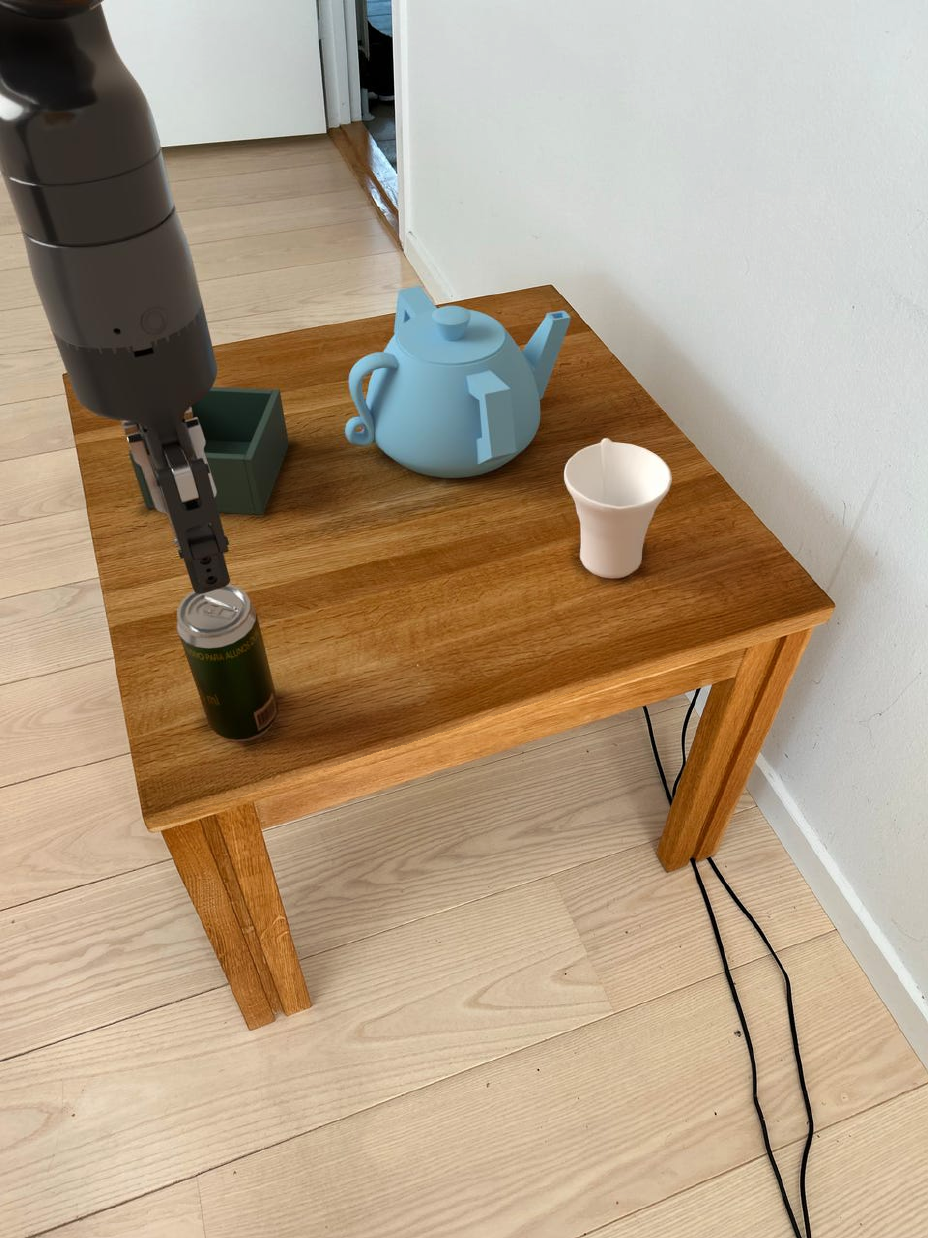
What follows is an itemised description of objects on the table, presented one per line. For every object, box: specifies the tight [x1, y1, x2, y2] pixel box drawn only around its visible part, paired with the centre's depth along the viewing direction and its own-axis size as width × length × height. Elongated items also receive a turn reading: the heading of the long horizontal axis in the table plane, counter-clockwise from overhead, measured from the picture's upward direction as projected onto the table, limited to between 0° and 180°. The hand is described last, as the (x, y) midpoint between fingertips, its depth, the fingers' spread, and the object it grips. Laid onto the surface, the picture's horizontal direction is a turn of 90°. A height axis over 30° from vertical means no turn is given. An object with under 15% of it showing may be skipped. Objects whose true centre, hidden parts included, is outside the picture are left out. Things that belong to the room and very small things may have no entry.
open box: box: [128, 386, 290, 516], centre depth 90 cm, size 11×11×6 cm
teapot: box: [344, 284, 572, 479], centre depth 92 cm, size 19×19×14 cm
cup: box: [563, 437, 673, 580], centre depth 80 cm, size 9×9×10 cm
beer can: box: [176, 583, 279, 743], centre depth 67 cm, size 5×5×12 cm
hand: (195, 543), depth 58 cm, fingers open, 8 cm apart
